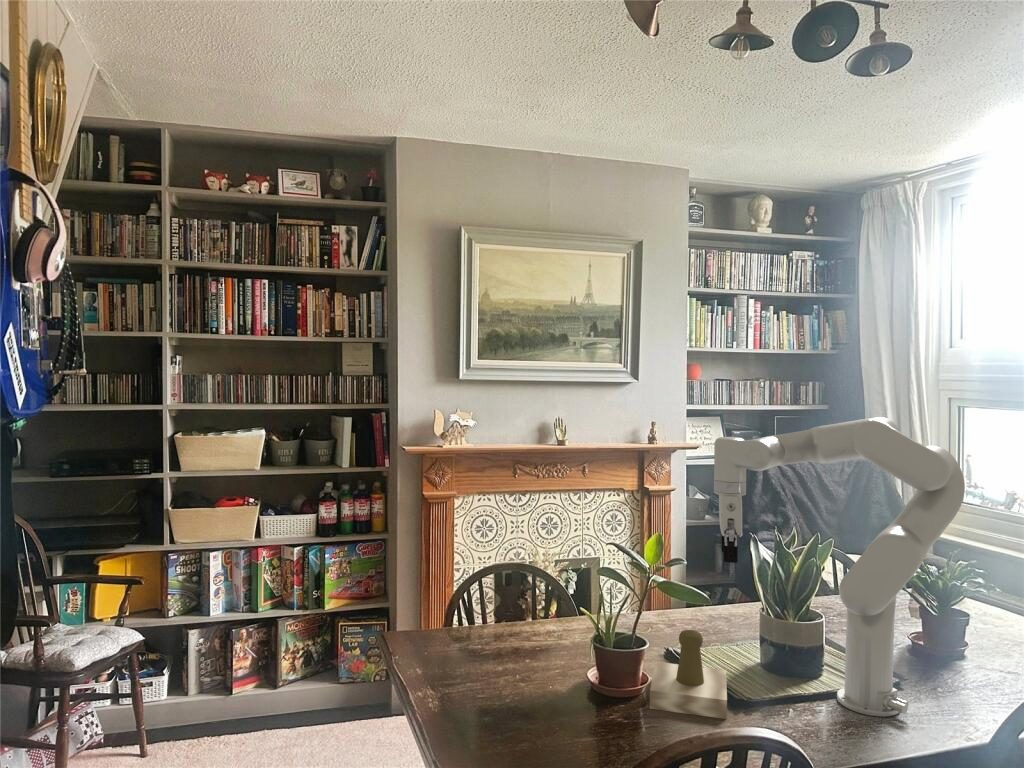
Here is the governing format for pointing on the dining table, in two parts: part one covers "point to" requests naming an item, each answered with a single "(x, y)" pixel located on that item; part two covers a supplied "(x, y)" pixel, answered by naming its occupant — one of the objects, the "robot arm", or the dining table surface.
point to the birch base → (689, 692)
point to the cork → (690, 659)
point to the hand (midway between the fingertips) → (729, 557)
